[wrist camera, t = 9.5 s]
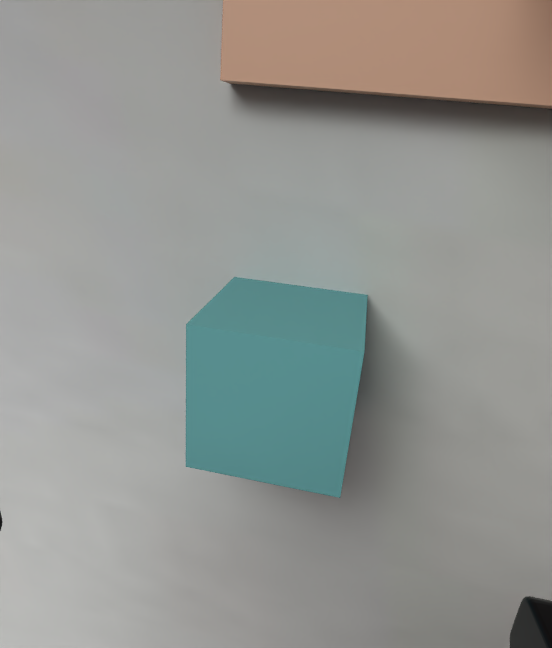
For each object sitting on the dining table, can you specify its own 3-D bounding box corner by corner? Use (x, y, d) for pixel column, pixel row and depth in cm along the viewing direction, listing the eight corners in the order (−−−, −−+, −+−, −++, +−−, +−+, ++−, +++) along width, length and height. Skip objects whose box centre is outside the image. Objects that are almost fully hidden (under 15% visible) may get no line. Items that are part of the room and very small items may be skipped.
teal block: (367, 294, 17) (364, 351, 12) (348, 410, 19) (340, 497, 14) (234, 276, 18) (186, 324, 13) (229, 390, 20) (185, 466, 15)
